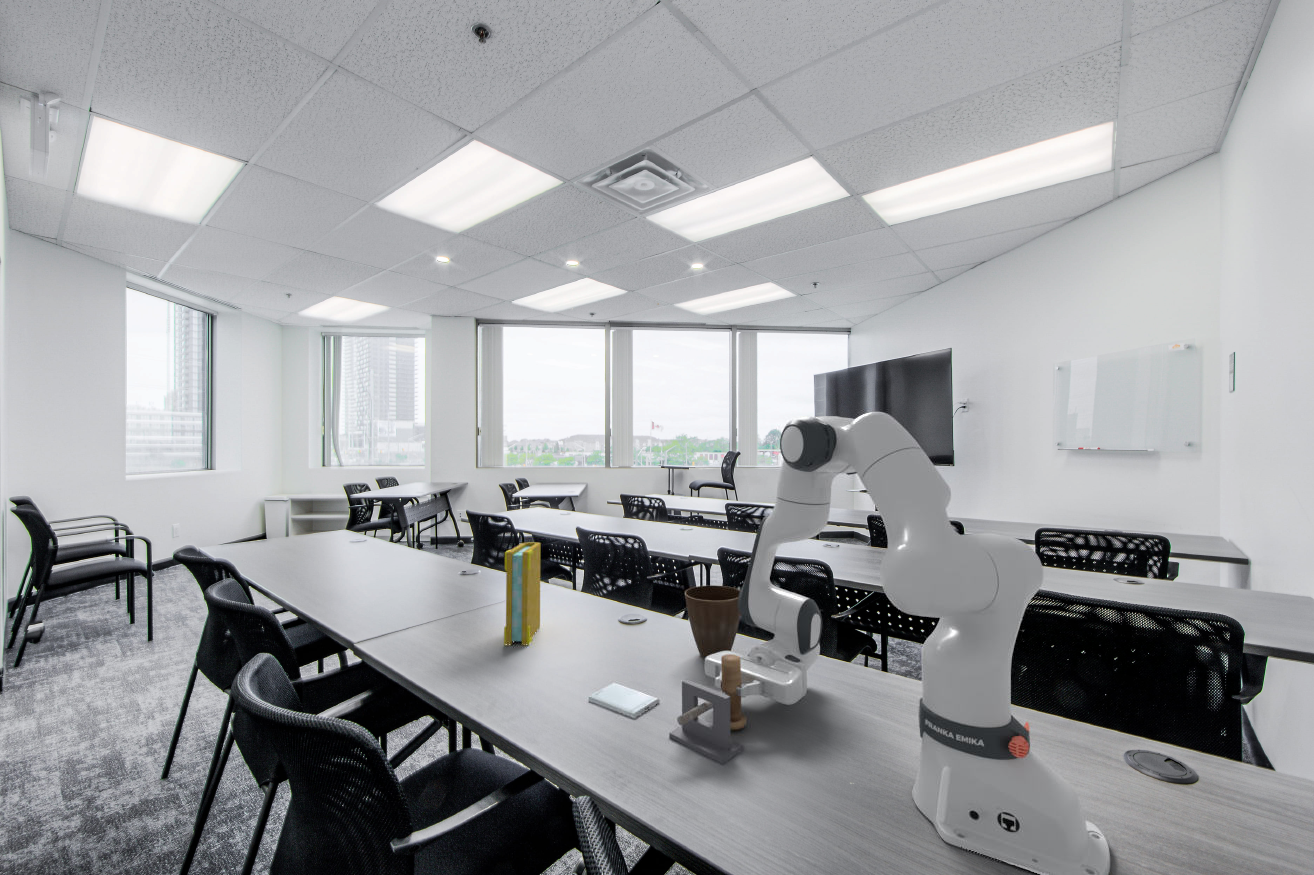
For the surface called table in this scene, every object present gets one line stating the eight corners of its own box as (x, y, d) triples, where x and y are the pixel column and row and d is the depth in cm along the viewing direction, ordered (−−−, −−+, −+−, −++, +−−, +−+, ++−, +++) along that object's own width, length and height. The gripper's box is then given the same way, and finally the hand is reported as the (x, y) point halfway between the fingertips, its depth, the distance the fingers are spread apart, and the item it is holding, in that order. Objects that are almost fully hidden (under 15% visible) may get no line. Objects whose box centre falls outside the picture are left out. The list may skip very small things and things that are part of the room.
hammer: (751, 722, 97) (750, 657, 98) (692, 761, 85) (691, 686, 86) (728, 713, 101) (727, 650, 101) (669, 748, 89) (668, 677, 89)
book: (528, 645, 140) (529, 552, 141) (504, 645, 140) (504, 552, 141) (543, 625, 157) (543, 542, 158) (521, 625, 157) (521, 542, 158)
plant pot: (738, 670, 123) (737, 602, 124) (678, 662, 128) (677, 597, 128) (748, 648, 137) (747, 587, 138) (693, 642, 142) (693, 583, 143)
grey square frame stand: (743, 749, 90) (743, 693, 90) (722, 764, 85) (722, 705, 86) (690, 724, 98) (690, 673, 98) (669, 737, 94) (669, 683, 94)
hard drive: (588, 695, 108) (634, 712, 101) (614, 682, 115) (659, 697, 107) (588, 703, 108) (634, 721, 101) (614, 689, 115) (659, 705, 107)
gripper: (727, 638, 114) (686, 656, 104) (813, 664, 100) (775, 687, 90) (727, 667, 114) (686, 688, 104) (813, 697, 100) (775, 724, 90)
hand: (728, 688), depth 97 cm, fingers closed on hammer, 4 cm apart
